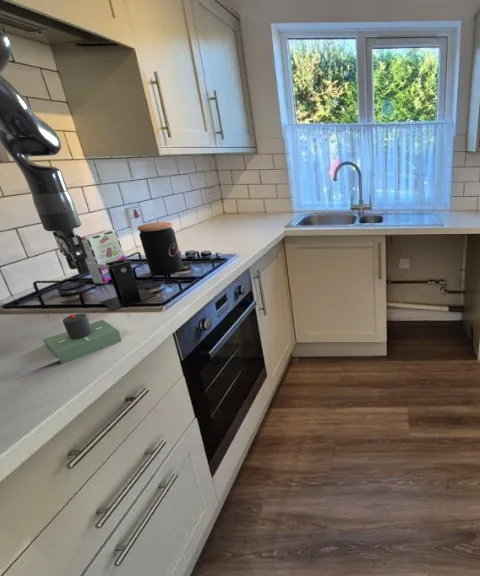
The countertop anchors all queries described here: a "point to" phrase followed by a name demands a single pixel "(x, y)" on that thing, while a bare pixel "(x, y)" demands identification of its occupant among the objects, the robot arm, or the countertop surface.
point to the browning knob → (77, 326)
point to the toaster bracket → (125, 286)
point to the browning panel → (83, 342)
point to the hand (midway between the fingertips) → (79, 270)
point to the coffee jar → (160, 248)
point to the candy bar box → (102, 253)
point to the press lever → (96, 265)
